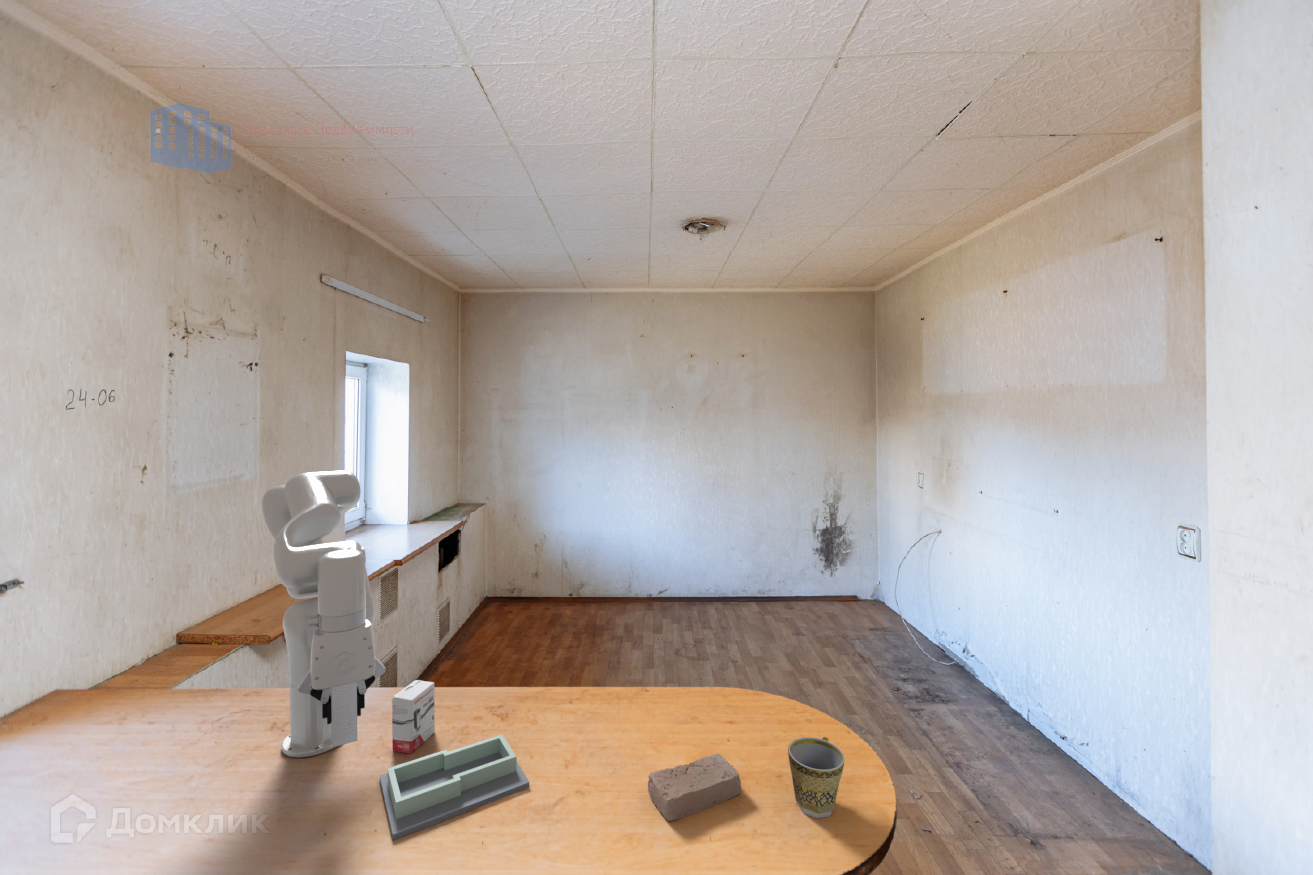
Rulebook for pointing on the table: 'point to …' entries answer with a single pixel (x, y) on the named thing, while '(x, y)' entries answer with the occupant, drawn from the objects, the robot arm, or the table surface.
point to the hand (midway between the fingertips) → (343, 715)
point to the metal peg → (344, 714)
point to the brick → (693, 786)
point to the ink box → (413, 716)
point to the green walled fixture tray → (449, 784)
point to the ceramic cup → (815, 774)
